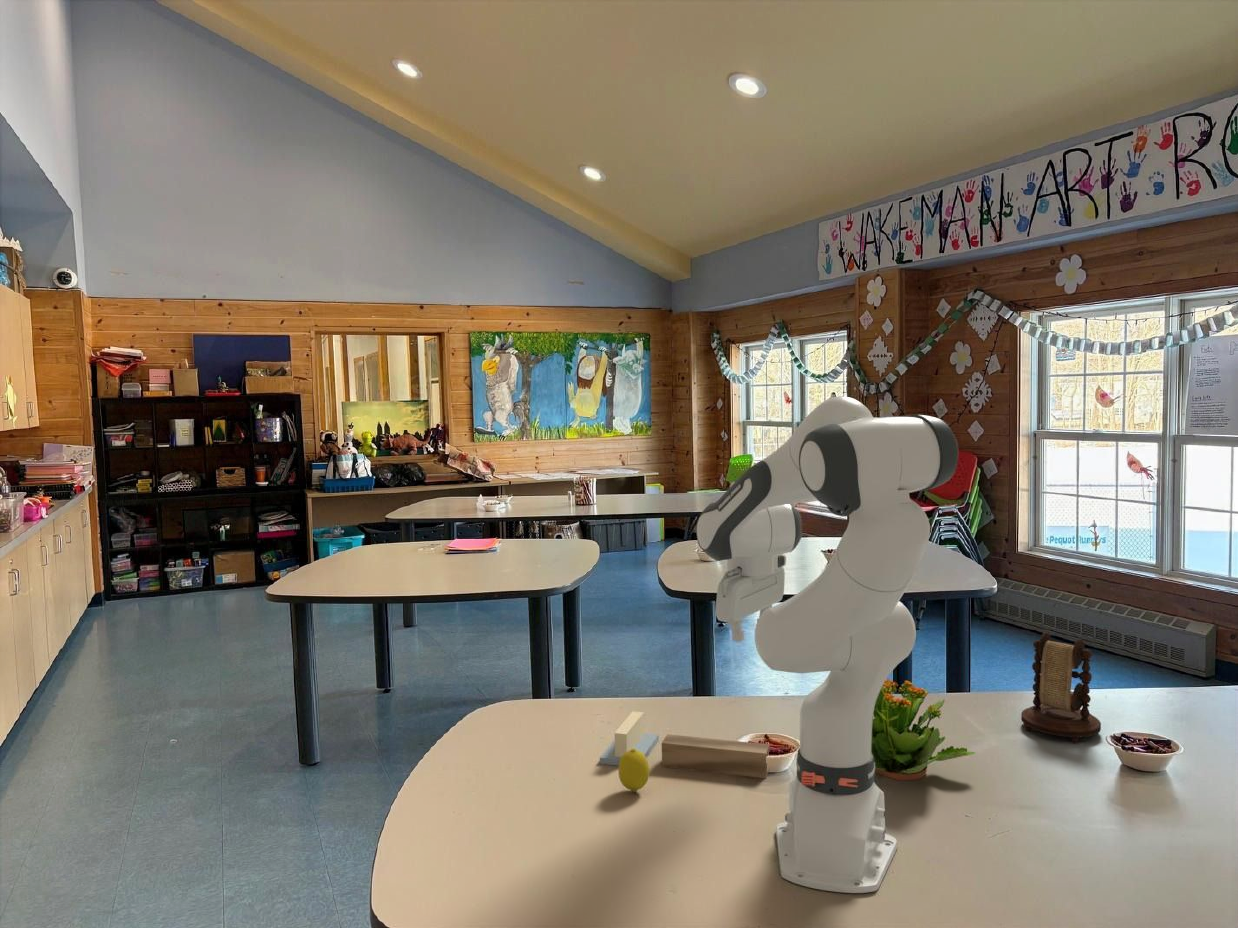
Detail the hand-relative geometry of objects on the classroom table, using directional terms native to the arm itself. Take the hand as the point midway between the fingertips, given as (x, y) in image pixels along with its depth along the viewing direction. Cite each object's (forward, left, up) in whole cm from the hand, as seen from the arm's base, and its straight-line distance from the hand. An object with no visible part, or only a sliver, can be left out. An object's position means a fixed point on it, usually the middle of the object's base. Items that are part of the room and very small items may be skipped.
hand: (750, 634), depth 170 cm
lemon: (-17, +19, -26) cm, 36 cm away
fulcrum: (0, +25, -26) cm, 35 cm away
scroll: (+33, -58, -26) cm, 72 cm away
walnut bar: (-3, +7, -26) cm, 27 cm away
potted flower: (+4, -27, -26) cm, 38 cm away
